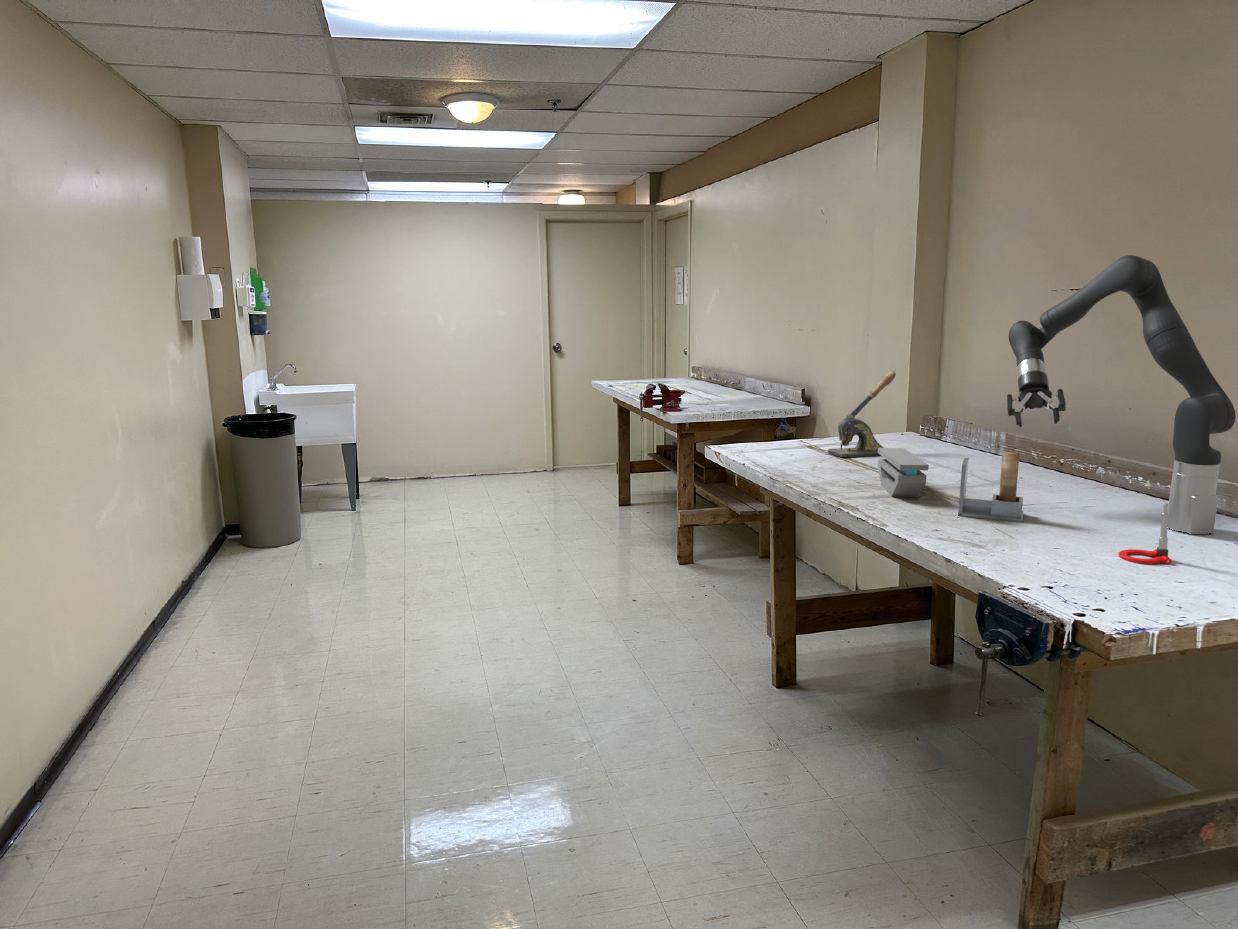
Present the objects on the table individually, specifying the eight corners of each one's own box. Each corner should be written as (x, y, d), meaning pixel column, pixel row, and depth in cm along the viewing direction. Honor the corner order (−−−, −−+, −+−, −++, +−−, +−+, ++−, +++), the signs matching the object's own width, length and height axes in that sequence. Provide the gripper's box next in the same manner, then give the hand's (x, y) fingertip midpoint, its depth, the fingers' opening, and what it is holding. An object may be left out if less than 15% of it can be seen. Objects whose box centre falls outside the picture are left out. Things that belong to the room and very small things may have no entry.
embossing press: (825, 453, 304) (829, 371, 297) (884, 449, 309) (888, 369, 302) (839, 459, 293) (843, 374, 287) (900, 455, 298) (905, 372, 292)
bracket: (960, 507, 227) (964, 457, 224) (1023, 513, 221) (1027, 462, 218) (958, 515, 219) (962, 464, 216) (1022, 522, 213) (1027, 469, 210)
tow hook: (1126, 565, 181) (1173, 566, 179) (1130, 508, 179) (1178, 508, 176) (1112, 553, 189) (1158, 554, 187) (1116, 499, 187) (1162, 499, 184)
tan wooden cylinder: (1017, 514, 216) (1022, 455, 213) (1002, 515, 216) (1007, 455, 213) (1009, 510, 220) (1014, 452, 217) (995, 511, 220) (999, 452, 217)
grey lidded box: (925, 502, 233) (928, 464, 231) (897, 502, 234) (900, 464, 231) (901, 482, 258) (903, 447, 255) (876, 482, 258) (878, 447, 256)
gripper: (1003, 373, 232) (1008, 417, 222) (1061, 366, 226) (1068, 411, 216) (1005, 390, 237) (1009, 434, 228) (1061, 384, 231) (1067, 429, 222)
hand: (1038, 423), depth 222 cm, fingers open, 8 cm apart
